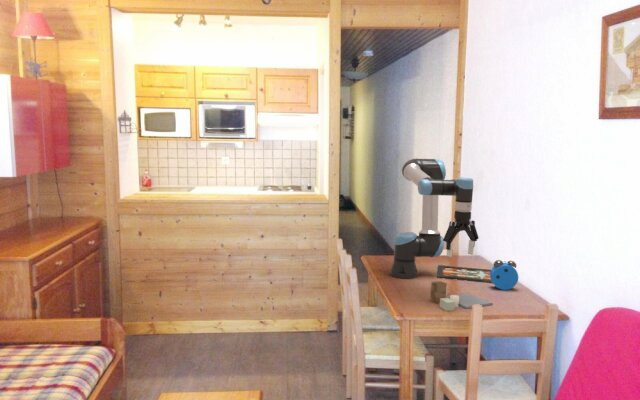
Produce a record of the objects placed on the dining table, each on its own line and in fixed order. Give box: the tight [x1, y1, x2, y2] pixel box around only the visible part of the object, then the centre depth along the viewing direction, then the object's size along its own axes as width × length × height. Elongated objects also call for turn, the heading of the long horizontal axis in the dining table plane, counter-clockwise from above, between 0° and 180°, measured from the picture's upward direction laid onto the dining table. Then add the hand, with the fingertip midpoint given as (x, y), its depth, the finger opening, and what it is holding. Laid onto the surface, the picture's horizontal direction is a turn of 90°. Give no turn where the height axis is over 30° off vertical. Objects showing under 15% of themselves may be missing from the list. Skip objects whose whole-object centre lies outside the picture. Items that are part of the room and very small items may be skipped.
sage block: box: [439, 298, 455, 312], centre depth 243 cm, size 6×4×4 cm, turn 17°
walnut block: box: [429, 280, 448, 304], centre depth 252 cm, size 5×5×9 cm
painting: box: [436, 264, 493, 284], centre depth 303 cm, size 28×35×2 cm
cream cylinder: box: [449, 294, 460, 309], centre depth 246 cm, size 4×4×5 cm
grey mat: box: [446, 292, 494, 310], centre depth 254 cm, size 16×16×1 cm
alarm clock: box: [490, 259, 519, 291], centre depth 277 cm, size 13×6×15 cm, turn 85°
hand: (459, 255), depth 253 cm, fingers open, 13 cm apart
